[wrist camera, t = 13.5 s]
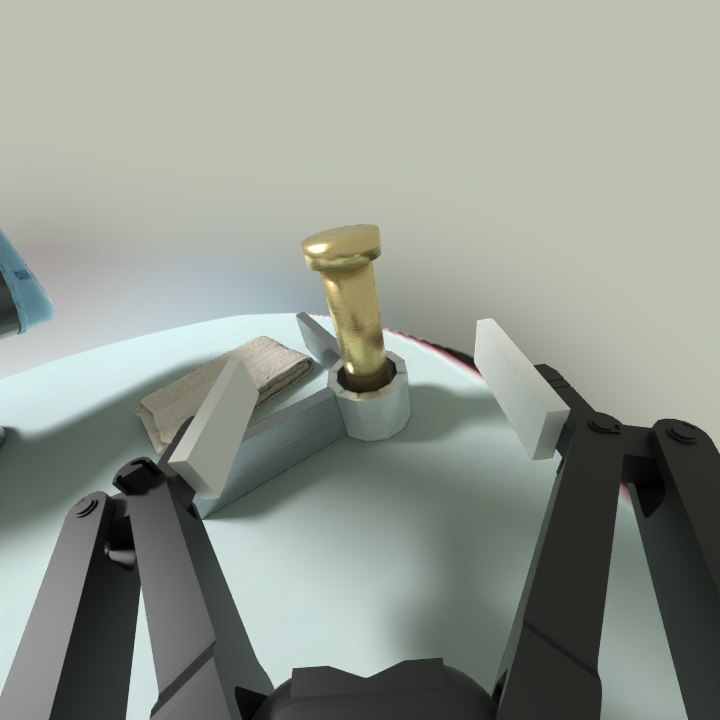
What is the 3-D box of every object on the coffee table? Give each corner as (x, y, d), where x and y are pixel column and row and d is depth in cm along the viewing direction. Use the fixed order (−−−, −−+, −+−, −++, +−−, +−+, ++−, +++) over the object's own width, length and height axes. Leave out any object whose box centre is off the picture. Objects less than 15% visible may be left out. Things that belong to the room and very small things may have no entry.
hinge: (187, 400, 34) (164, 367, 31) (331, 335, 41) (323, 303, 38) (205, 554, 20) (164, 520, 17) (425, 415, 26) (423, 373, 23)
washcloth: (141, 419, 34) (124, 400, 32) (269, 344, 43) (261, 326, 41) (172, 475, 26) (152, 455, 24) (318, 370, 36) (312, 349, 34)
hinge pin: (340, 410, 29) (290, 241, 19) (381, 387, 30) (353, 222, 21) (367, 442, 25) (320, 253, 15) (411, 414, 27) (395, 228, 17)
